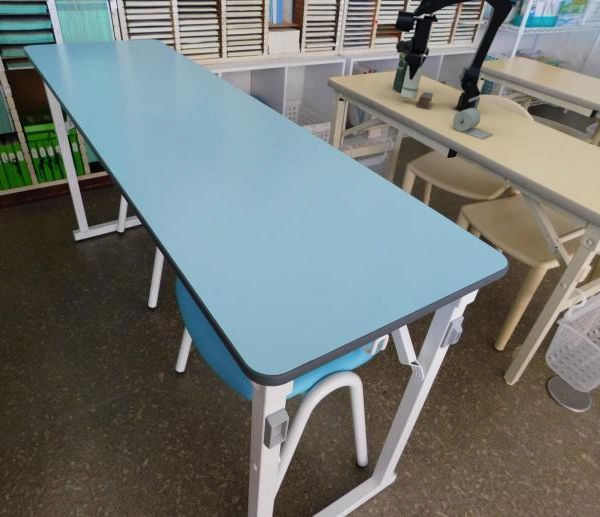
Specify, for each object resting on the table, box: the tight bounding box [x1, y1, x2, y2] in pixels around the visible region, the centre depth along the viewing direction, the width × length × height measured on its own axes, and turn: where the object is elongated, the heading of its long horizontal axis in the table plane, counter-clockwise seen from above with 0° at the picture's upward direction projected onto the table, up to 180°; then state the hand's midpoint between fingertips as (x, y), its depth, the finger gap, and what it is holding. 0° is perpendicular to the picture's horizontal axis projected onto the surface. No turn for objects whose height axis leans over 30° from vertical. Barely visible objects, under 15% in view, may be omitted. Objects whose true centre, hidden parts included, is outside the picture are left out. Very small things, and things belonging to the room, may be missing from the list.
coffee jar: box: [392, 50, 409, 93], centre depth 189 cm, size 10×8×19 cm
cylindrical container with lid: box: [400, 66, 424, 99], centre depth 176 cm, size 12×6×12 cm
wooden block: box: [417, 91, 434, 110], centre depth 178 cm, size 4×8×4 cm, turn 157°
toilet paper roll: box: [452, 95, 491, 139], centre depth 156 cm, size 10×11×12 cm
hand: (412, 77), depth 175 cm, fingers closed on cylindrical container with lid, 6 cm apart
